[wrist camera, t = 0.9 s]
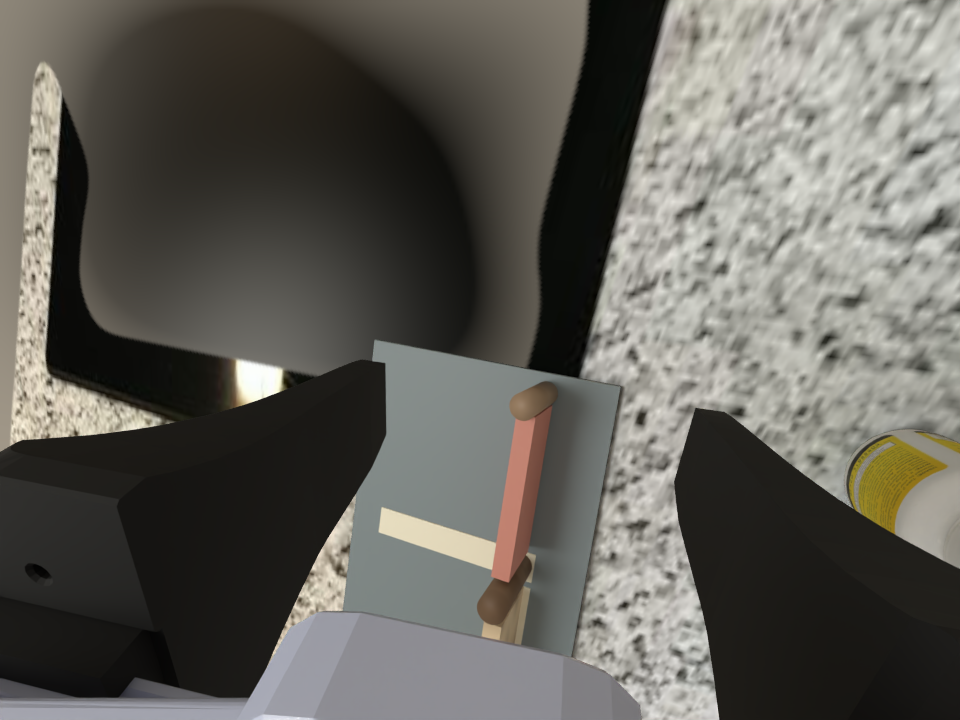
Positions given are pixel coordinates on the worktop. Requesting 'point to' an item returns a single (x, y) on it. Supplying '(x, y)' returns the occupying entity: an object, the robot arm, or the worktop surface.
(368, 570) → the card
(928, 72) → the worktop surface
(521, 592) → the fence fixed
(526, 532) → the gate panel
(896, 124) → the worktop surface
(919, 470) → the supplement bottle
